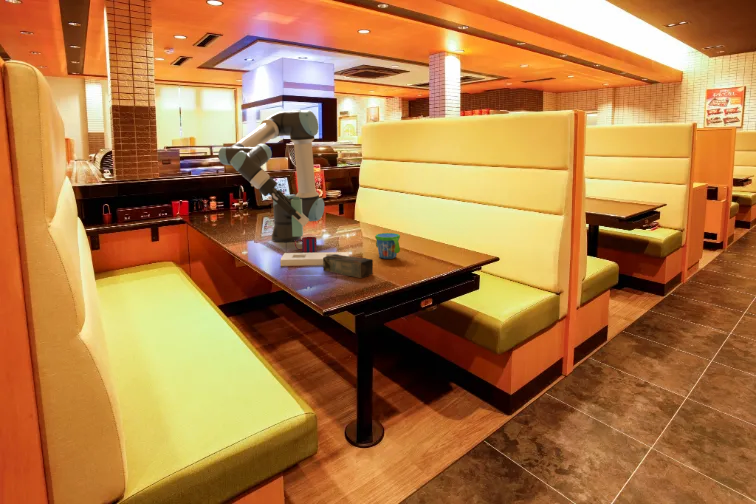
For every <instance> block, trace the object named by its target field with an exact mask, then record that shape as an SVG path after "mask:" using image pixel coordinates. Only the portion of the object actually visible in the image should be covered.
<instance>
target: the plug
mask: <svg viewBox="0 0 756 504" xmlns="http://www.w3.org/2000/svg"><path fill="white" fill-rule="evenodd" d="M291 206H292V207H293V208H294V209H295V210H296V211H298V212H299V213H300V214H301V215H302V199H300V196H294V197H293V199H292V200H291ZM292 236H301V237H304V226H303V225H302V224H301V223H300V222H298V221H297V220H296V219H295V218H294V217H293V216H292Z"/></svg>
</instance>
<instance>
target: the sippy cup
mask: <svg viewBox="0 0 756 504" xmlns="http://www.w3.org/2000/svg"><path fill="white" fill-rule="evenodd" d="M374 238H375V239H376V241H375V245H376V247H377V252H378V256H379V258H380V259H384V260H392V259H395V258H397V254H399V253H400V250H401V247H400V241H399V240H400V238H401V235H400V234H399V233H394V232H383V233H377V234H376V235H375V236H374Z"/></svg>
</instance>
